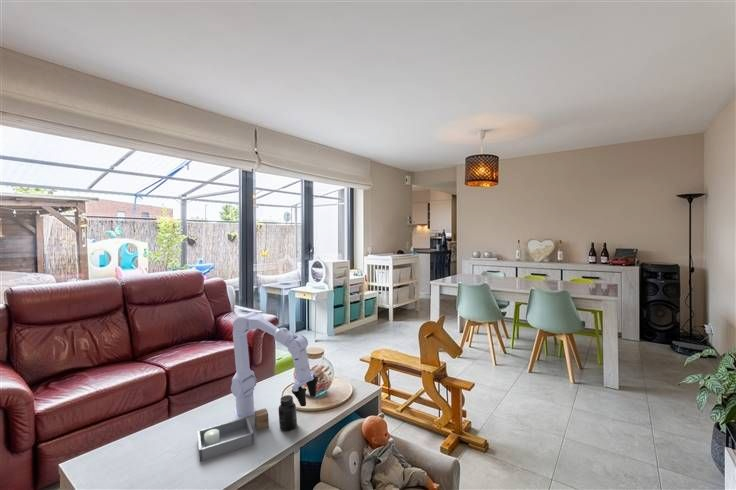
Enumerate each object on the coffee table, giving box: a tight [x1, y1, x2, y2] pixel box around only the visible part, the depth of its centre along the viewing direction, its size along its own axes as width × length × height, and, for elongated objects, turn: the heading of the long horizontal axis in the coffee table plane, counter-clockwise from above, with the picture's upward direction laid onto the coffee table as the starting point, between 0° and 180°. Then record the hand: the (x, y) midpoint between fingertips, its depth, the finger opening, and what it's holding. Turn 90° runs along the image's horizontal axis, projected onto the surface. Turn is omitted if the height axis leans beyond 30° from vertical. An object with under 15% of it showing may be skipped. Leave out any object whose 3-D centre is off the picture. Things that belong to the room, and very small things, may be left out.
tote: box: [196, 416, 255, 462], centre depth 127 cm, size 13×18×4 cm
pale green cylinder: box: [204, 429, 220, 447], centre depth 124 cm, size 5×5×5 cm
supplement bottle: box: [277, 394, 298, 432], centre depth 136 cm, size 7×7×12 cm
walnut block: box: [254, 407, 270, 431], centre depth 137 cm, size 4×4×6 cm
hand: (308, 400), depth 135 cm, fingers open, 7 cm apart
